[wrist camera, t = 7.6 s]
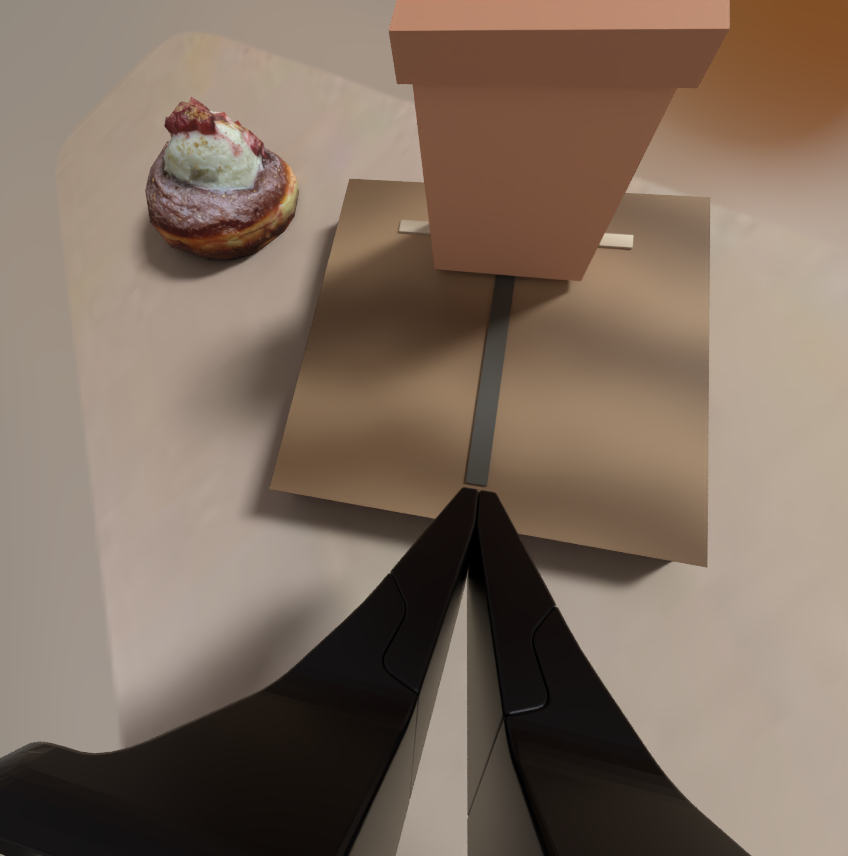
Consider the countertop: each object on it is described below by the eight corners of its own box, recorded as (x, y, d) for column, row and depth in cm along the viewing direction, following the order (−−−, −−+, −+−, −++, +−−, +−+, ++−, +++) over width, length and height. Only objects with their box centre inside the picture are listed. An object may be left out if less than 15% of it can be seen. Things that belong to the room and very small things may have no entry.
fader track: (674, 560, 14) (709, 567, 12) (291, 492, 17) (267, 488, 15) (683, 232, 18) (711, 195, 16) (360, 211, 20) (348, 177, 18)
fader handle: (588, 288, 15) (729, 28, 7) (426, 274, 16) (388, 31, 8) (594, 213, 16) (729, -99, 8) (440, 204, 17) (418, -84, 9)
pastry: (317, 163, 21) (274, 59, 16) (278, 278, 20) (217, 200, 15) (194, 152, 22) (120, 52, 18) (148, 260, 21) (53, 182, 16)
